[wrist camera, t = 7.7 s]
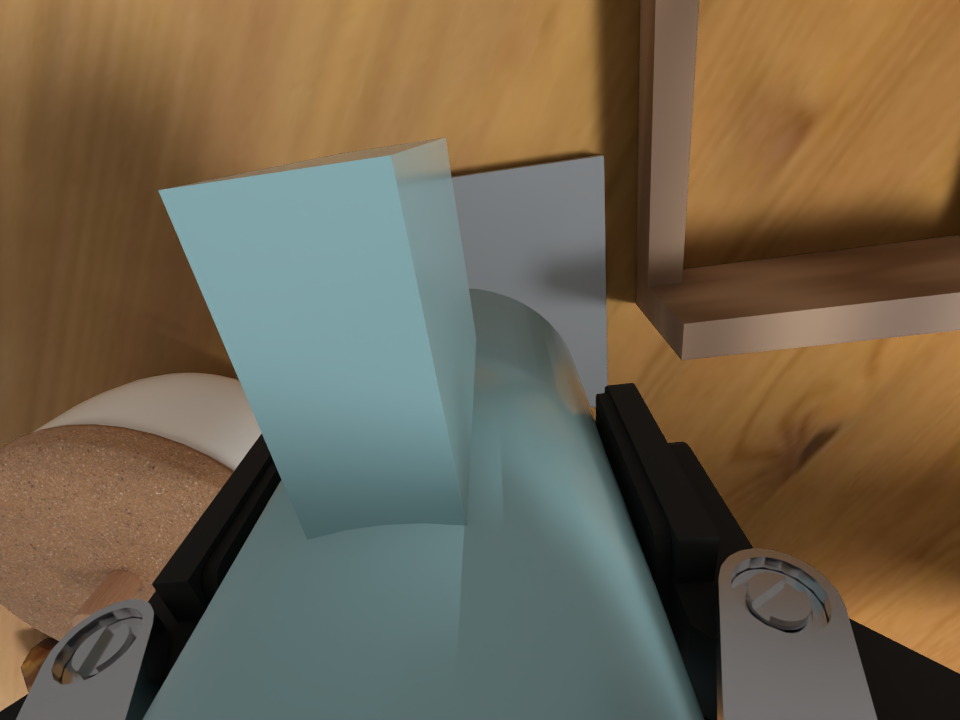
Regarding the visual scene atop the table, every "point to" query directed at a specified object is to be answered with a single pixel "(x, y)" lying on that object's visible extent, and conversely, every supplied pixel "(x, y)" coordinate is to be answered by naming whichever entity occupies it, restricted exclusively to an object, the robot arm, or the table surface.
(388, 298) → the jug
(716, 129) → the table surface
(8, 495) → the lidded jar
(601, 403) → the robot arm
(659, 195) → the cradle
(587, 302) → the coaster
